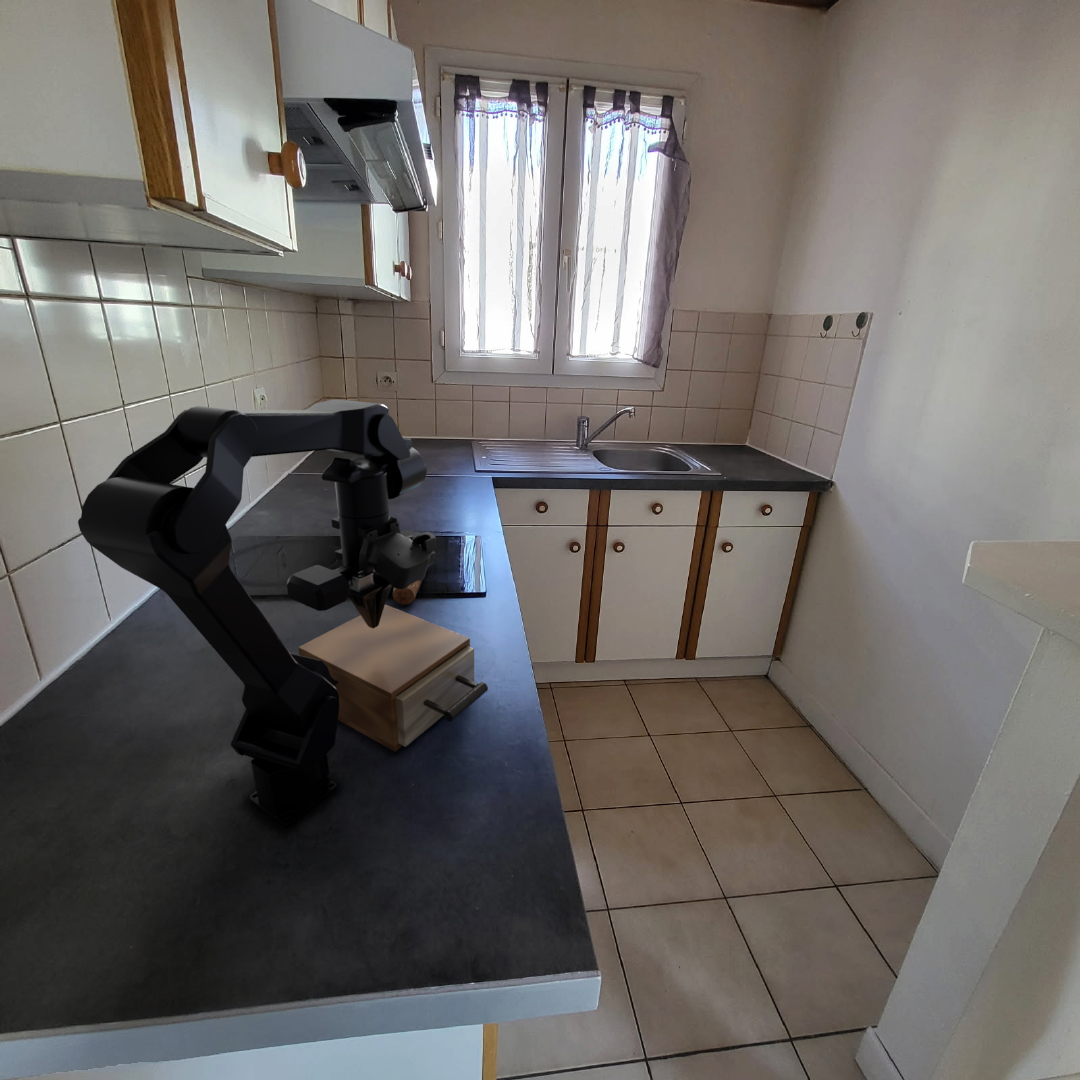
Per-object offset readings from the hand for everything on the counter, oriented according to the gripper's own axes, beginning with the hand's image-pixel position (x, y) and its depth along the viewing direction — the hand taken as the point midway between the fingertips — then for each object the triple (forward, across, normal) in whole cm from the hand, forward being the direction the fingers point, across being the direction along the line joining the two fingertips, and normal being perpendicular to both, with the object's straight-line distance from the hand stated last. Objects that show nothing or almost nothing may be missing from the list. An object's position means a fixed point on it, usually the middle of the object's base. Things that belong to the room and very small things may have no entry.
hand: (373, 626), depth 71 cm
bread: (+12, +29, +21) cm, 38 cm away
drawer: (+11, +2, -4) cm, 12 cm away
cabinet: (+12, +2, 0) cm, 12 cm away
